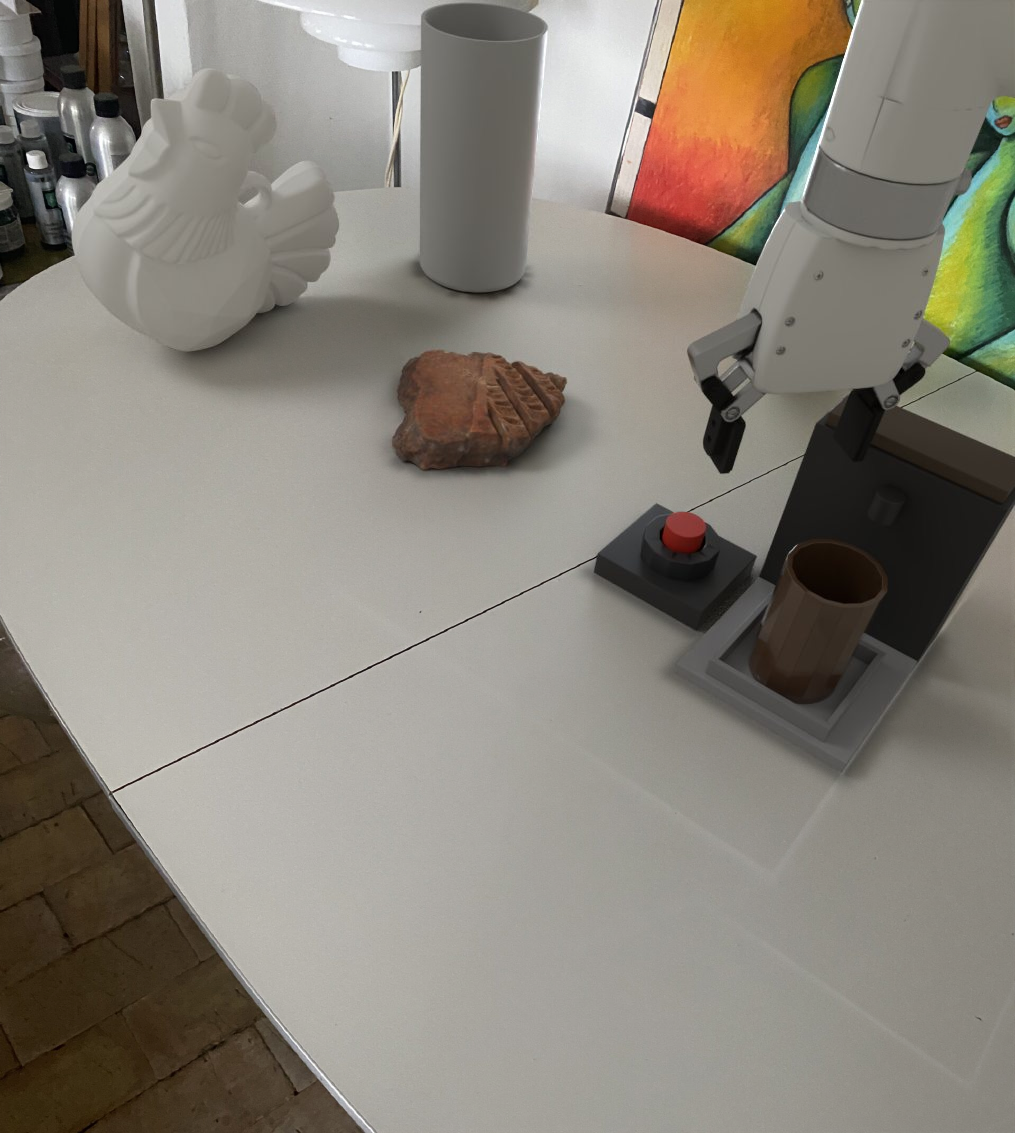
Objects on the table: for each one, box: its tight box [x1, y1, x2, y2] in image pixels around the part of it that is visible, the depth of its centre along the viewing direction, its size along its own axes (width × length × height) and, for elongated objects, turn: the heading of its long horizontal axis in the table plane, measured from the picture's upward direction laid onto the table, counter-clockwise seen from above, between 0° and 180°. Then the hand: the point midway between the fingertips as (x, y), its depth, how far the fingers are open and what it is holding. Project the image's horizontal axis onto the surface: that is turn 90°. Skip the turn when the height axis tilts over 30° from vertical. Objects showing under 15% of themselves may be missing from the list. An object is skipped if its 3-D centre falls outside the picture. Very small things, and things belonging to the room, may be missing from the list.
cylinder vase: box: [419, 2, 549, 293], centre depth 103 cm, size 12×12×25 cm
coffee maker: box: [674, 392, 1015, 773], centre depth 68 cm, size 14×18×17 cm
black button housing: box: [593, 502, 758, 632], centre depth 78 cm, size 10×9×4 cm
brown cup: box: [748, 539, 888, 704], centre depth 68 cm, size 7×7×10 cm
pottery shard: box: [391, 349, 568, 471], centre depth 91 cm, size 16×16×4 cm
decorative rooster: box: [71, 67, 340, 352], centre depth 92 cm, size 25×16×25 cm
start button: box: [662, 511, 706, 554], centre depth 76 cm, size 3×3×2 cm
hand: (783, 455), depth 64 cm, fingers open, 9 cm apart
